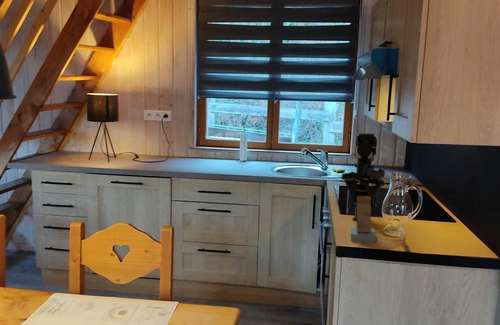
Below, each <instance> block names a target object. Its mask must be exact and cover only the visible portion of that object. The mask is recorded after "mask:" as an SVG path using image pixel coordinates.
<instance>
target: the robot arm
mask: <svg viewBox="0 0 500 325" xmlns="http://www.w3.org/2000/svg"><path fill="white" fill-rule="evenodd" d="M377 143H378V138H377V136H376V135H375V133H369V132H368V133H367V132H359V133H358V134H357V135H356V141H355V148H356V153H357V163H356V164H354V168H356V172H354V171H346V172H343V173H342V174H341V180H343V182H344V183H345V185H346V187H347V189H348V191H349V195H350V197H351V199H352V204H351V205H352V207H355V208H354V210H355V211H354V217H353V218H352V220H353V221H357V196H370V198H371V209H372V208H374V207H375V194H376V192H377V191H378V190H379V189H381V188H382V187H384V185H385V181H384V179H383V178H384V177H385V174H386V172H385V169H381V168H379V169H378V170H377V169H375V166H374V165H372V162H373V161H374V160H375V156H377V145H378V144H377Z"/></svg>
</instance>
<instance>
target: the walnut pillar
mask: <svg viewBox="0 0 500 325" xmlns="http://www.w3.org/2000/svg"><path fill="white" fill-rule="evenodd" d="M371 212H372V208H371V198H370V196H357V220H356V227H357V232H370V228H371V221H372V220H371V216H372V214H371Z"/></svg>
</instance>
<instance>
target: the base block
mask: <svg viewBox="0 0 500 325" xmlns="http://www.w3.org/2000/svg"><path fill="white" fill-rule="evenodd" d="M376 235H377V234H376V230H375V228H371V227H370V232H357V226H355V227H354V226H351V227H350V241H351V242H353V241H354V242H364V243H365V242H366V243H376V238H377V237H376Z"/></svg>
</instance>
